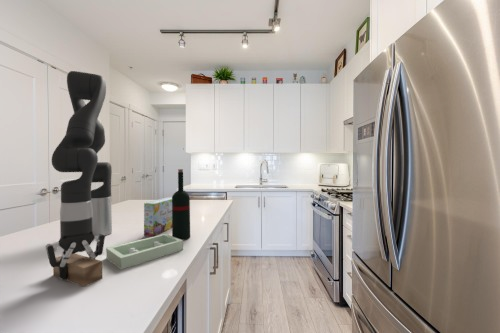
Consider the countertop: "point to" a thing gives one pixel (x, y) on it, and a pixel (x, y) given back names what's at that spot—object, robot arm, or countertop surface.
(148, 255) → the pale green tray
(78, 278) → the walnut plank
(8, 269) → the countertop surface
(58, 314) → the countertop surface
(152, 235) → the snack box
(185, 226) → the wine bottle
